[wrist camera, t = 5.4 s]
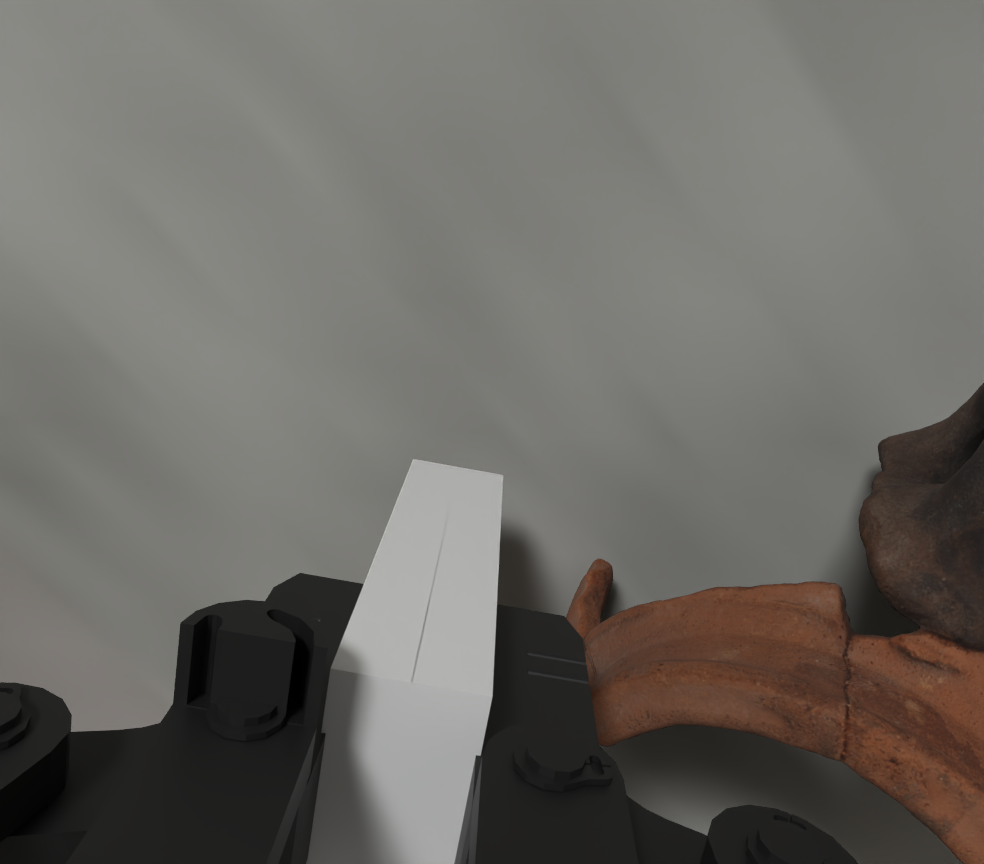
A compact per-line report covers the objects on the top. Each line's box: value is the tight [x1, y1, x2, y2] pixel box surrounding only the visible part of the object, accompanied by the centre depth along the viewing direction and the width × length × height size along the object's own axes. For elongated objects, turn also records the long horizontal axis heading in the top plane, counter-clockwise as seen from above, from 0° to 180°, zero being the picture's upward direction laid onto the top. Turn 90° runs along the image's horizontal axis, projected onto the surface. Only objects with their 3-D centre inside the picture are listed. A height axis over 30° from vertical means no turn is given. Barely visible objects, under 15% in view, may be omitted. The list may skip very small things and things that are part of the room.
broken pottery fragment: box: [566, 383, 984, 864], centre depth 14 cm, size 12×10×8 cm
